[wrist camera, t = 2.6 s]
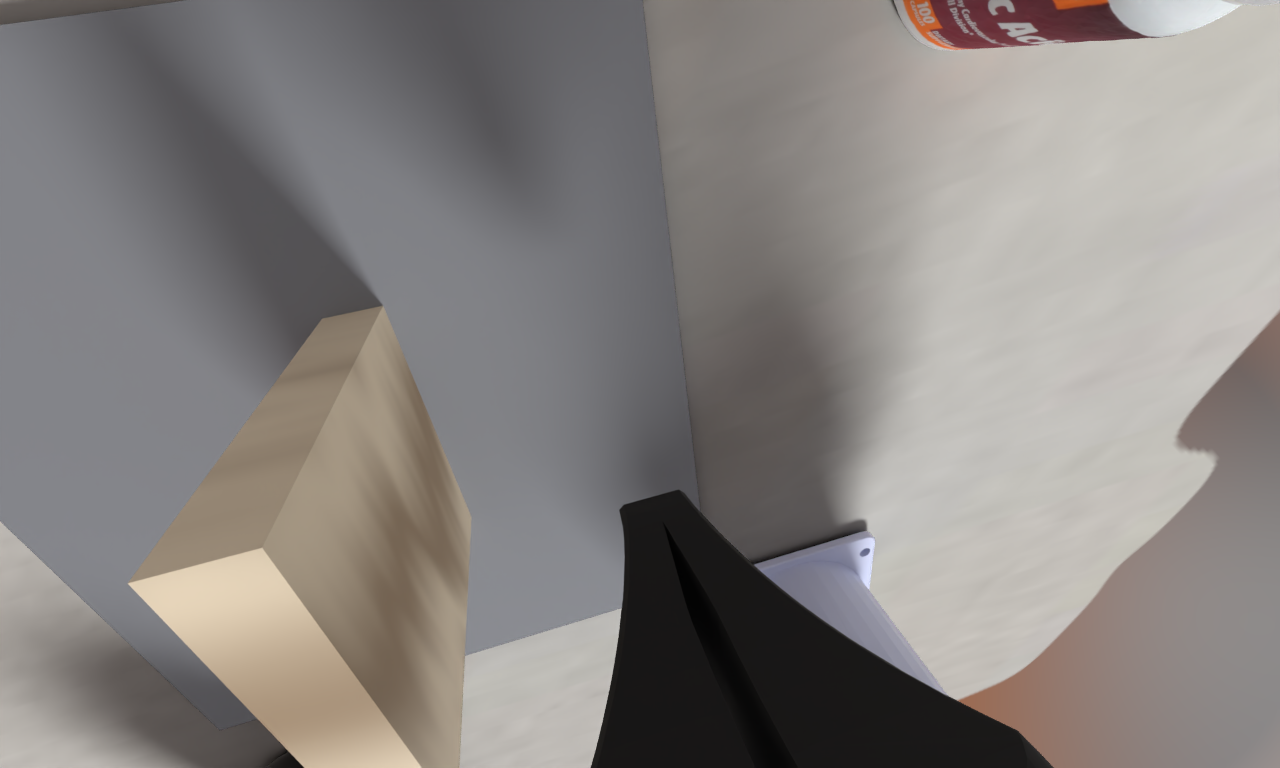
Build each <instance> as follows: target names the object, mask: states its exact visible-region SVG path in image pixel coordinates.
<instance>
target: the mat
mask: <svg viewBox="0 0 1280 768" xmlns="http://www.w3.org/2000/svg"><path fill="white" fill-rule="evenodd" d="M379 306H383V307H384V309H385V311H386V314H387V316H388V319H389V321H390V323H391V326H392V328H393V331H394V333H395V335H396V338H397V340H398V343H399V345H400V347H401V350H402V352H403V354H404V357H405V359H406V362H407V364H408V366H409V369H410V371H411V374H412V376H413V378H414V381H415V383H416V386H417V388H418V390H419V393H420V395H421V398H422V400H423V402H424V405H425V407H426V409H427V412H428V414H429V417H430V419H431V421H432V424H433V426H434V429H435V431H436V433H437V436H438V438H439V441H440V443H441V445H442V448H443V450H444V453H445V455H446V457H447V460H448V462H449V464H450V467H451V469H452V472H453V474H454V476H455V479H456V481H457V484H458V486H459V488H460V491H461V493H462V496H463V498H464V500H465V503H466V505H467V508H468V510H469V512H470V515H471V538H470V559H469V579H468V600H467V620H466V641H465V656H466V655H469V654H472V653H476V652H479V651H482V650H486V649H489V648H492V647H495V646H499V645H502V644H505V643H509V642H512V641H515V640H518V639H522V638H525V637H528V636H531V635H535V634H538V633H541V632H545V631H548V630H551V629H554V628H558V627H561V626H564V625H568V624H571V623H574V622H577V621H581V620H584V619H587V618H591V617H594V616H597V615H600V614H604V613H607V612H610V611H614V610H617V609H620V608H622V601H623V589H624V562H625V554H624V533H623V526H622V521H621V516H620V512H619V510H620V508H621V507H622V506H623V505H624V504H628V503H631V502H635V501H639V500H642V499H646V498H650V497H653V496H657V495H660V494H664V493H668V492H671V491H675V490H678V489H679V490H681V491H682V492H684V493H685V494H686V496H687V497H688V498H689V499H690V501H691V502H692V503H693V504H694V505H695V507H696V508H697V509H698V510H699V511H700V503H699V494H698V486H697V477H696V468H695V459H694V450H693V441H692V433H691V424H690V415H689V406H688V397H687V388H686V380H685V371H684V362H683V353H682V344H681V336H680V327H679V318H678V309H677V300H676V291H675V283H674V274H673V265H672V256H671V247H670V238H669V230H668V221H667V212H666V203H665V194H664V185H663V177H662V168H661V159H660V150H659V141H658V133H657V124H656V115H655V106H654V97H653V88H652V80H651V71H650V62H649V53H648V44H647V35H646V27H645V18H644V9H643V0H184V1H177V2H169V3H162V4H154V5H147V6H139V7H132V8H124V9H117V10H109V11H102V12H94V13H87V14H79V15H72V16H64V17H57V18H49V19H42V20H34V21H27V22H19V23H12V24H4V25H0V521H1V522H2V523H3V524H4V525H5V526H6V527H7V528H8V529H9V530H10V531H11V532H12V533H13V534H14V535H15V536H16V537H17V538H18V539H19V540H20V541H22V542H23V543H24V544H25V545H26V546H27V547H28V548H29V549H30V550H31V551H32V552H33V553H34V554H35V555H36V556H37V557H38V558H39V559H40V560H41V561H42V562H44V563H45V564H46V565H47V566H48V567H49V568H50V569H51V570H52V571H53V572H54V573H55V574H56V575H57V576H58V577H59V578H60V579H61V580H62V581H63V582H65V583H66V584H67V585H68V586H69V587H70V588H71V589H72V590H73V591H74V592H75V593H76V594H77V595H78V596H79V597H80V598H81V599H82V600H83V601H84V602H86V603H87V604H88V605H89V606H90V607H91V608H92V609H93V610H94V611H95V612H96V613H97V614H98V615H99V616H100V617H101V618H102V619H103V620H104V621H105V622H107V623H108V624H109V625H110V626H111V627H112V628H113V629H114V630H115V631H116V632H117V633H118V634H119V635H120V636H121V637H122V638H123V639H124V640H125V641H126V642H128V643H129V644H130V645H131V646H132V647H133V648H134V649H135V650H136V651H137V652H138V653H139V654H140V655H141V656H142V657H143V658H144V659H145V660H146V661H147V662H149V663H150V664H151V665H152V666H153V667H154V668H155V669H156V670H157V671H158V672H159V673H160V674H161V675H162V676H163V677H164V678H165V679H166V680H167V681H168V682H170V683H171V684H172V685H173V686H174V687H175V688H176V689H177V690H178V691H179V692H180V693H181V694H182V695H183V696H184V697H185V698H186V699H187V700H188V701H189V702H191V703H192V704H193V705H194V706H195V707H196V708H197V709H198V710H199V711H200V712H201V713H202V714H203V715H204V716H205V717H206V718H207V719H208V720H209V721H210V722H212V723H213V724H214V725H215V726H216V727H217V728H218V729H219V730H223V729H226V728H230V727H233V726H236V725H239V724H243V723H246V722H249V721H253V720H256V719H257V718H256V717H255V716H254V715H253V714H252V713H251V712H250V711H249V709H248V708H247V707H246V706H245V705H244V704H243V703H242V702H241V701H240V700H239V699H238V698H237V697H236V696H235V695H234V694H233V693H232V692H231V691H230V690H229V689H228V688H227V687H226V685H225V684H224V683H223V682H222V681H221V680H220V679H219V678H218V677H217V676H216V675H215V674H214V673H213V672H212V671H211V670H210V669H209V668H208V667H207V666H206V665H205V664H204V663H203V662H202V660H201V659H200V658H199V657H198V656H197V655H196V654H195V653H194V652H193V651H192V650H191V649H190V648H189V647H188V646H187V645H186V644H185V643H184V642H183V641H182V640H181V639H180V638H179V637H178V635H177V634H176V633H175V632H174V631H173V630H172V629H171V628H170V627H169V626H168V625H167V624H166V623H165V622H164V621H163V620H162V619H161V618H160V617H159V616H158V615H157V614H156V613H155V611H154V610H153V609H152V608H151V607H150V606H149V605H148V604H147V603H146V602H145V601H144V600H143V599H142V598H141V597H140V596H139V595H138V594H137V593H136V592H135V591H134V590H133V589H132V588H131V586H130V585H129V584H128V582H129V581H130V579H131V578H132V577H133V575H134V574H135V573H136V571H137V570H138V569H139V567H140V566H141V564H142V563H143V562H144V560H145V559H146V558H147V556H148V555H149V554H150V552H151V551H152V550H153V548H154V547H155V545H156V544H157V543H158V541H159V540H160V539H161V537H162V536H163V535H164V533H165V532H166V530H167V529H168V528H169V526H170V525H171V524H172V522H173V521H174V520H175V518H176V517H177V515H178V514H179V513H180V511H181V510H182V509H183V507H184V506H185V505H186V503H187V502H188V500H189V499H190V498H191V496H192V495H193V494H194V492H195V491H196V490H197V488H198V487H199V486H200V484H201V483H202V481H203V480H204V479H205V477H206V476H207V475H208V473H209V472H210V471H211V469H212V468H213V466H214V465H215V464H216V462H217V461H218V460H219V458H220V457H221V456H222V454H223V453H224V451H225V450H226V449H227V447H228V446H229V445H230V443H231V442H232V441H233V439H234V438H235V436H236V435H237V434H238V432H239V431H240V430H241V428H242V427H243V426H244V424H245V423H246V422H247V420H248V419H249V417H250V416H251V415H252V413H253V412H254V411H255V409H256V408H257V407H258V405H259V404H260V402H261V401H262V400H263V398H264V397H265V396H266V394H267V393H268V392H269V390H270V389H271V387H272V386H273V385H274V383H275V382H276V381H277V379H278V378H279V377H280V375H281V374H282V373H283V371H284V370H285V368H286V367H287V366H288V364H289V363H290V362H291V360H292V359H293V358H294V356H295V355H296V353H297V352H298V351H299V349H300V348H301V347H302V345H303V344H304V343H305V341H306V340H307V338H308V337H309V336H310V334H311V333H312V332H313V330H314V329H315V328H316V326H317V325H318V323H319V322H320V321H321V319H323V318H328V317H332V316H337V315H342V314H346V313H351V312H356V311H360V310H365V309H370V308H374V307H379Z"/></svg>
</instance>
